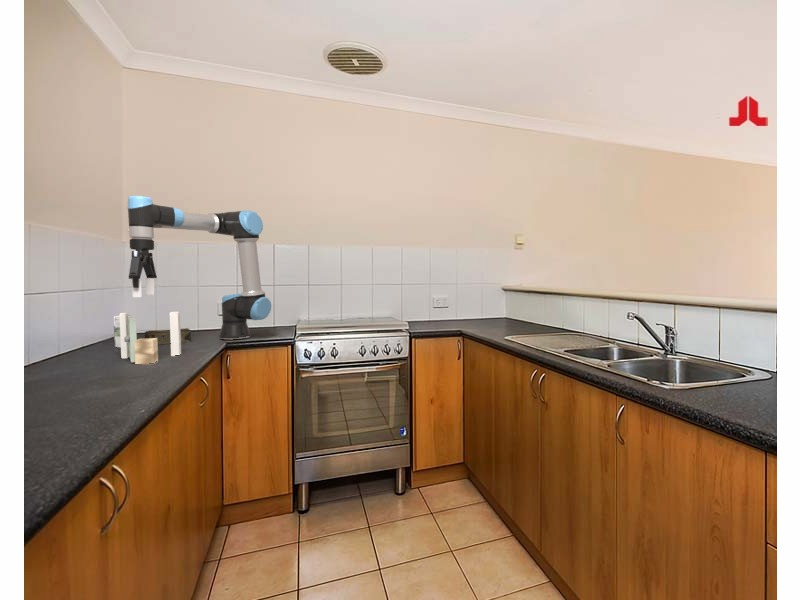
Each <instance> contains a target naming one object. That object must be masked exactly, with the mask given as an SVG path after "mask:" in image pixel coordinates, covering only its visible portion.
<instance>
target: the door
mask: <svg viewBox="0 0 800 600" xmlns="http://www.w3.org/2000/svg"><path fill="white" fill-rule="evenodd" d="M128 335H129V336H128V337H124V340H125V342H129V359H130V363H135V343H134V341H135V340H138V339H137V337H138V336H137V335H138V334H137V319H136V318H135V316H134V317H128Z"/></svg>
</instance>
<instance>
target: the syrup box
mask: <svg viewBox="0 0 800 600" xmlns="http://www.w3.org/2000/svg"><path fill="white" fill-rule="evenodd" d="M128 317H134V318H135V316H134V315H133V314H132V315H131V314H128ZM112 319H113V322H112V323H113V335H114V336H113V337H114V348H115V347H117V349H118V348H119V349H121V339H120V316H119V315H114V316H112Z"/></svg>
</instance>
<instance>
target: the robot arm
mask: <svg viewBox="0 0 800 600" xmlns="http://www.w3.org/2000/svg"><path fill="white" fill-rule="evenodd" d="M127 213H128V217H127V218H128V229H127V233H128V234H129V238H131V239H129V249H130V250H131V259H130V265H129V266H130V267H129V271H128V272H129V273H128V279H129V280H131V285H132V286H131V288H132V298H143V283H142V278H141V275H142V272H143V271H144V274H145V277H146V278H145V289H146V290H145V292H146V294H145V295H146V296H155V295H156V290H155V289H156V286H155V279H158V276H157V274H156V273H157V271H156V268H155V263H154V258H153V252H150V251H154V250H155V241H154V238H155V235H154V234H155V233H154V229H170V230H171V229H173V230H174V229H175V230H187V231H188V230H189V231H203V232H208V233H209V234H216V235H217V234H218V235H224V236H233V240H234V241H235V242H236V243H237V250H238V258H239V265H240V275H241V276H240V277H241V283H242V284H241V285H242V292H241V293H236V294H234V293H233V294H227V295H223V296H222V298H221V315H222V316H221V317H222V318H221V319H222V324H221V329H220V331H219V334H218V339H219V338H239V337H246V336H250V337H251V332H250V328H249V325H248V323H247V322H248V321H247V320H251V321H252V320H253V321H262V320H265V319H266V318H267V317H268V316H269V314H270V313H271V311H272V302H271V300H270V299H269V297H266V292H265V291H264V290H263V289H262V285H261V284H262V283H261V275H260V266H259V265H260V264H259V256H258V247H257V241H258V240H259V239H260V236H259V235H261V233H262V231H263V228H264V223H263V220H262V218H261V217H260V216H259V215H258V212H255V211H252V210H239V211H238V210H237V211H227V212H219V213H218V212H217V213H213V212H210V213H208V214H203V213H202V214H201V213H193V212H184V211H183V210H182V209H180V208H176V207H173V206H165V205H157V204H155V203H153V199H152V198H151V197H148V196H144V195H143V196H142V195H131V196H129V197H128V199H127Z"/></svg>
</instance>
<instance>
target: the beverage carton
mask: <svg viewBox="0 0 800 600" xmlns="http://www.w3.org/2000/svg"><path fill="white" fill-rule="evenodd" d="M180 331H181V342H185V343H188V342H187V341H191V342H192V330H191V329H190V328H189V327H187V328H180ZM144 338H157V342H158V344H161V345H169V344H168V343H171V339H170V329H160V330H146V331H145V333H144Z"/></svg>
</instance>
